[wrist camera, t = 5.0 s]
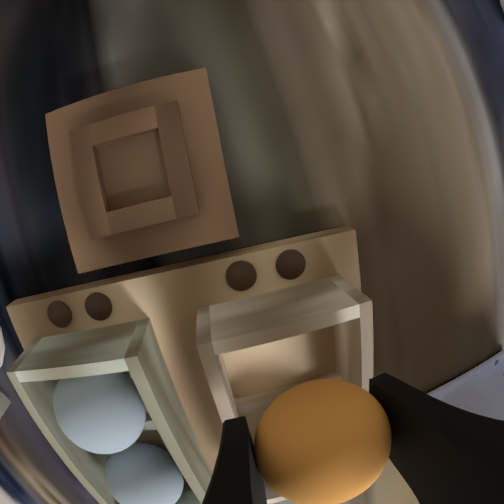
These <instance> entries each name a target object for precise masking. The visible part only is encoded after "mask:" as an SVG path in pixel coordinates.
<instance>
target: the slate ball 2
mask: <svg viewBox="0 0 504 504" xmlns="http://www.w3.org/2000/svg"><path fill="white" fill-rule="evenodd" d="M104 476H105V482H106V485H107V488H108V490H109V492H110V493H111V495H112V496H113V497H114V499H115V500H116V501H117V502H119V503H120V504H175V503H176V502H177V501H178V499H179V498H180V496H181V494H182V490H183V485H184V480H183V474H182V473H181V471H180V469H179V468H178V466H177V464H176V463H175V461H174V459H173V458H172V456H171V455H170V454H169V453H168V452H167V451H165V450H164V449H162V448H160V447H158V446H156V445H153V444H150V443H144V442H134V443H133V444H132V445H131V446H129V447H128V448H126V449H124V450H122V451H120V452H117V453H113V454H111V455H110V457H109V458H108V460H107V462H106V465H105V471H104Z"/></svg>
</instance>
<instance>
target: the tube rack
mask: <svg viewBox="0 0 504 504" xmlns="http://www.w3.org/2000/svg"><path fill="white" fill-rule="evenodd" d="M6 309H7V311H8V314H9V316H10V319H11V321H12V324H13V326H14V329H15V331H16V333H17V336H18V338H19V340H20V342H21V345H22V347H23V349H24V351H23V353H22V354H21V355H20V356H19V357H18V358H17V360H16V361H15V362H14V363H13V364H12V366H11V367H10V368H9V369H8V371H7V372H6V373H7V375H8V377H9V379H10V381H11V382H12V384H13V386H14V388H15V390H16V391H17V393H18V395H19V397H20V398H21V400H22V402H23V403H24V405H25V407H26V408H27V410H28V411H29V413H30V415H31V416H32V418H33V419H34V421H35V422H36V424H37V425H38V427H39V428H40V430H41V431H42V433H43V434H44V436H45V437H46V439H47V440H48V441H49V443H50V444H51V446H52V447H53V448H54V450H55V451H56V452H57V454H58V455H59V456H60V458H61V459H62V460H63V461H64V463H65V464H66V465H67V466H68V468H69V469H70V470H71V471H72V473H73V474H74V475H75V476H76V477H77V479H78V480H79V481H80V482H81V483H82V484H83V486H84V487H85V488H86V489H87V490H88V491H89V492H90V494H91V495H92V496H93V497H94V498H95V499H96V500H97V501H98V502H99V503H100V504H120V503H119V502H117V501H116V500H115V499H114V497H113V496H112V495H111V493H110V492H109V490H108V488H107V485H106V482H105V476H104V471H105V465H106V462H107V460H108V458H109V457H110V455H111V454H97V453H92V452H89V451H86V450H84V449H82V448H80V447H79V446H77V445H76V444H74V443H73V442H72V441H71V440H70V439H69V438H68V437H67V436H66V435H65V434H64V433H63V431H62V430H61V428H60V426H59V425H58V422H57V420H56V417H55V414H54V408H53V397H54V392H55V388H56V386H57V384H58V382H59V380H60V379H67V378H77V377H85V376H94V375H102V374H109V373H117V372H125V373H126V374H127V375H128V376H129V377H131V378H132V380H133V381H134V383H135V385H136V387H137V390H138V392H139V394H140V396H141V398H142V400H143V402H144V404H145V407H146V419H145V424H144V428H143V430H142V432H141V434H140V436H139V437H138V439H137V440H136V441H135V442H144V443H150V444H153V445H156V446H158V447H160V448H162V449H164V450H165V451H167V452H168V453H169V454H170V455H171V456H172V458H173V459H174V461H175V463H176V464H177V466H178V468H179V469H180V471H181V473H182V474H183V480H184V485H183V490H182V494H181V496H180V498H179V499H178V501H177V502H176V503H175V504H202V502H203V499H204V497H205V494H206V491H207V488H208V486H209V483H210V480H211V477H212V474H213V470H214V467H215V463H216V459H217V456H218V451H219V447H220V442H221V436H222V426H223V422H224V421H225V420H227V419H232V418H237V417H242V416H245V417H246V421H247V424H248V427H249V430H250V434H251V437H252V440H253V443H254V438H255V434H256V430H257V427H258V424H259V422H260V420H261V418H262V416H263V414H264V412H265V411H266V410H267V408H268V407H269V406H270V405H271V403H272V402H273V401H274V400H275V399H276V398H278V397H279V396H280V395H281V394H283V393H284V392H286V391H287V390H289V389H291V388H293V387H295V386H297V385H299V384H302V383H305V382H308V381H312V380H318V379H337V380H342V381H346V382H350V383H353V384H355V385H357V386H359V387H361V388H363V389H365V390H366V391H367V392H369V379H371V378H373V307H372V300H371V299H370V298H369V297H367V296H366V295H365V294H363V293H362V292H361V281H360V269H359V257H358V247H357V237H356V229H353V228H350V227H348V226H342V227H337V228H333V229H328V230H324V231H319V232H314V233H310V234H305V235H301V236H296V237H292V238H287V239H282V240H278V241H273V242H269V243H264V244H260V245H255V246H251V247H246V248H241V249H237V250H232V251H228V252H223V253H219V254H214V255H210V256H205V257H201V258H196V259H192V260H187V261H183V262H178V263H174V264H170V265H165V266H161V267H156V268H152V269H147V270H143V271H138V272H134V273H129V274H125V275H121V276H116V277H112V278H107V279H103V280H99V281H94V282H90V283H85V284H81V285H77V286H72V287H68V288H63V289H59V290H55V291H50V292H46V293H42V294H37V295H33V296H29V297H24V298H20V299H16V300H14V301H13V302H12V303H11V304H9V305H8V306H7V307H6ZM263 480H264V479H263ZM264 486H265V492H266V499H267V504H271V503H276V502H280V501H284V500H288V499H286V498H284V497H282V496H280V495H279V494H278V493H276V492H275V491H274V490H273V489H272V488H271V487H270V486H269V485H268V484H267V482H266V481H265V480H264Z"/></svg>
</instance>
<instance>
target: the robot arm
mask: <svg viewBox="0 0 504 504" xmlns="http://www.w3.org/2000/svg"><path fill="white" fill-rule="evenodd" d="M369 393H370V394H371V395H372V396H374V397H375V398H376V400H377V401H378V402H379V403H380V404H381V406H382V407H383V409H384V410H385V412H386V415H387V417H388V420H389V422H390V427H391V433H392V443H391V450H390V455H389V458H390V460H391V461H392V463H393V464H394V465H395V467H396V468H397V470H398V471H399V472H400V474H401V475H402V477H403V478H404V479H405V481H406V482H407V484H408V485H409V486H410V488H411V489H412V491H413V493H414V494H415V496H416V497H417V499H418V501H419V503H420V504H504V350H502V351H501V352H499V353H498V354H496V355H495V356H493V357H491V358H490V359H488V360H487V361H485V362H483V363H482V364H480V365H478V366H477V367H475V368H473V369H472V370H470V371H468V372H466V373H465V374H463V375H461V376H459V377H458V378H456V379H454V380H452V381H450V382H448V383H446V384H445V385H443V386H441V387H439V388H437V389H435V390H433V391H431V392H429V393H427V394H426V393H424V392H422V391H420V390H418V389H416V388H414V387H412V386H410V385H408V384H406V383H404V382H402V381H400V380H399V379H397V378H395V377H393V376H391V375H389V374H387V373H384V374H381V375H378V376H376V377H373V378H371V379H369ZM202 504H267V499H266V492H265V486H264V480H263V477H262V475H261V473H260V471H259V469H258V467H257V463H256V459H255V453H254V443H253V440H252V437H251V434H250V430H249V427H248V424H247V421H246V417H245V416H242V417H237V418H232V419H227V420H225V421H224V422H223V426H222V436H221V442H220V447H219V451H218V456H217V459H216V463H215V467H214V470H213V474H212V477H211V480H210V483H209V486H208V488H207V491H206V494H205V497H204V499H203V502H202Z"/></svg>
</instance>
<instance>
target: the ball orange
mask: <svg viewBox="0 0 504 504" xmlns="http://www.w3.org/2000/svg"><path fill="white" fill-rule="evenodd" d="M391 443H392V433H391V427H390V422H389V420H388V417H387V415H386V412H385V410H384V409H383V407H382V406H381V404H380V403H379V402H378V401H377V400H376V398H375V397H374V396H372V395H371V394H370V393H369V392H367V391H366V390H365V389H363V388H361V387H359V386H357V385H355V384H353V383H350V382H346V381H342V380H337V379H318V380H312V381H308V382H305V383H302V384H299V385H297V386H295V387H293V388H291V389H289V390H287V391H286V392H284V393H283V394H281V395H280V396H279V397H278V398H276V399H275V400H274V401H273V402H272V403H271V405H270V406H269V407H268V408H267V410H266V411H265V412H264V414H263V416H262V418H261V420H260V422H259V424H258V427H257V430H256V434H255V438H254V453H255V459H256V463H257V467H258V469H259V471H260V473H261V475H262V477H263V479H264V480H265V481H266V482H267V484H268V485H269V486H270V487H271V488H272V489H273V490H274V491H275V492H276V493H278V494H279V495H280V496H282V497H284V498H286V499H288V500H290V501H292V502H295V503H298V504H339V503H342V502H345V501H347V500H350V499H352V498H354V497H356V496H357V495H359V494H361V493H362V492H364V491H365V490H366V489H367V488H369V487H370V486H371V485H372V484H373V483H374V481H375V480H376V479H377V478H378V477H379V475H380V474H381V472H382V471H383V469H384V467H385V465H386V463H387V460H388V458H389V455H390V450H391Z"/></svg>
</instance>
